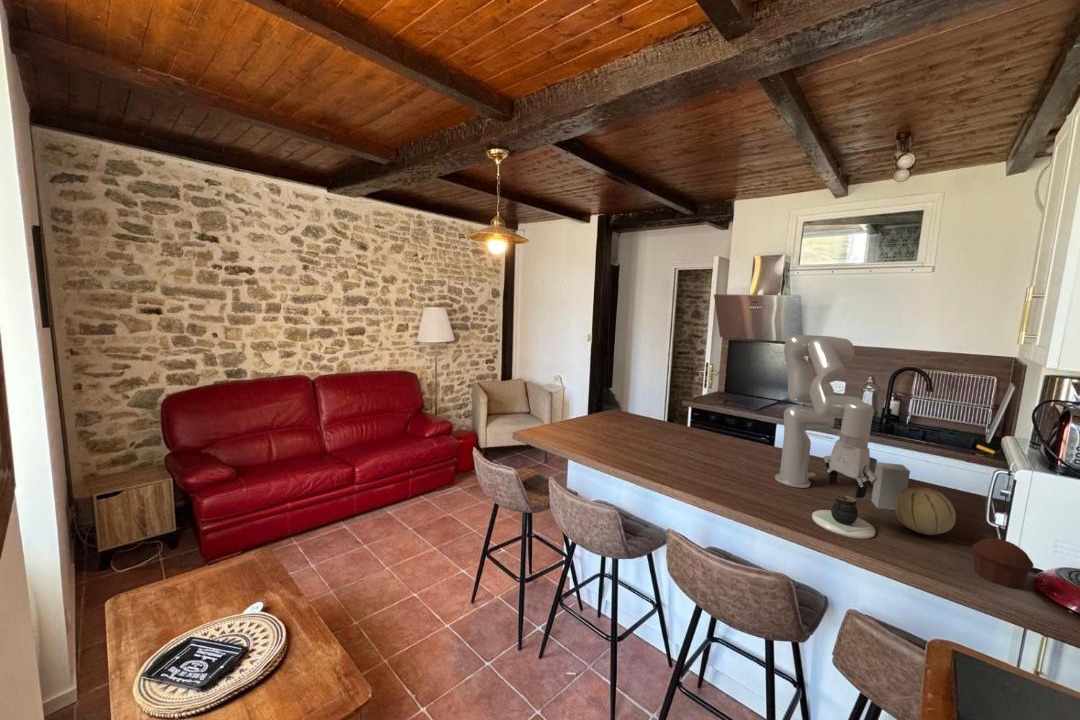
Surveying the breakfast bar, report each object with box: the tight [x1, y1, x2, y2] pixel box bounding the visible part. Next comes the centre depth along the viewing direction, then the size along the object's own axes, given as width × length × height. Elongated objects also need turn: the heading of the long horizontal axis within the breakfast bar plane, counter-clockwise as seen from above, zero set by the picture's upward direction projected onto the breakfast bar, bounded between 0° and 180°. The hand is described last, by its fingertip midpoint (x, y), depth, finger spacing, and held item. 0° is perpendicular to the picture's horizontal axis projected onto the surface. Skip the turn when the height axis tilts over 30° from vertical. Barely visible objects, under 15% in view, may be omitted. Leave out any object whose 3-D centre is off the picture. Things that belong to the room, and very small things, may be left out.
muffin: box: [972, 537, 1035, 589], centre depth 116 cm, size 12×11×10 cm
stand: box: [811, 509, 876, 540], centre depth 143 cm, size 17×17×1 cm
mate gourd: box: [830, 487, 859, 525], centre depth 142 cm, size 7×8×10 cm
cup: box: [853, 456, 878, 482], centre depth 182 cm, size 10×9×10 cm
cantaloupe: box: [894, 484, 957, 536], centre depth 140 cm, size 15×15×15 cm
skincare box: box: [870, 461, 911, 511], centre depth 157 cm, size 8×7×16 cm
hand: (845, 490), depth 142 cm, fingers open, 9 cm apart
